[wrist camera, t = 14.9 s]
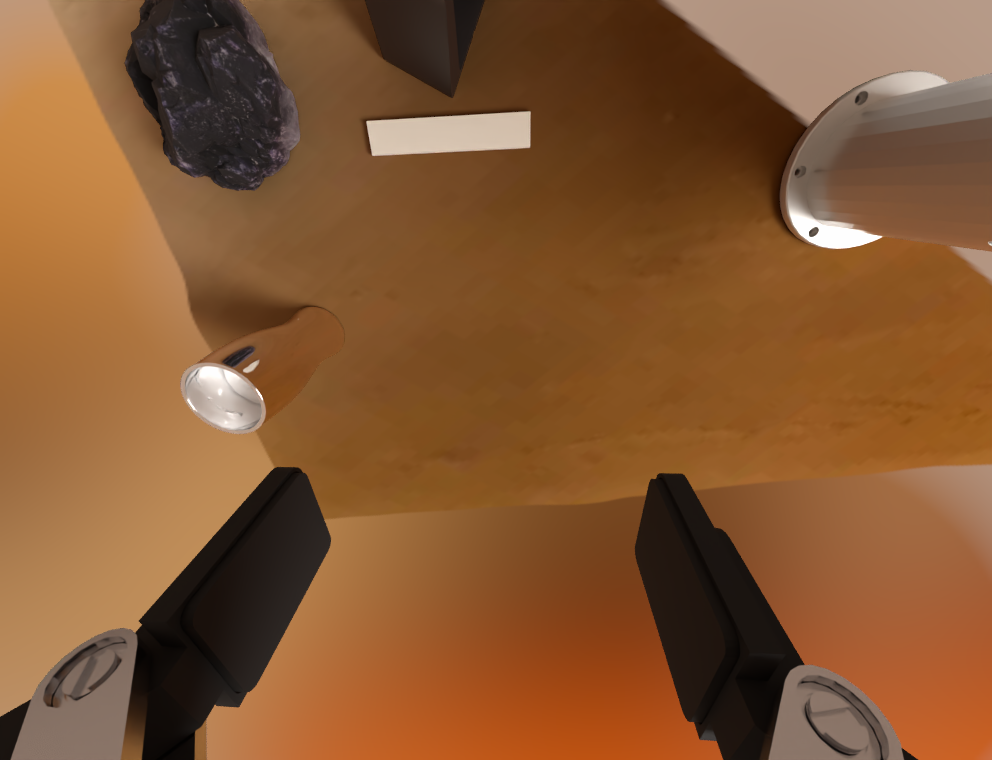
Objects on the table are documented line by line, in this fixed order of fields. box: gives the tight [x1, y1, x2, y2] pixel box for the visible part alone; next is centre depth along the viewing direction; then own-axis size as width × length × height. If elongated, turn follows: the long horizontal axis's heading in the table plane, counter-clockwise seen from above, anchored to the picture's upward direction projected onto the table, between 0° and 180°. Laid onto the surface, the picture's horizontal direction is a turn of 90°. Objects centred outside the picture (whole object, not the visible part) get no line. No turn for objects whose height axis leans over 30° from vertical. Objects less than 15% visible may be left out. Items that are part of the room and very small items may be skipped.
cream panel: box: [366, 111, 530, 156], centre depth 31 cm, size 14×2×1 cm, turn 92°
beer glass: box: [180, 307, 345, 434], centre depth 34 cm, size 7×7×15 cm
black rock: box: [125, 0, 300, 191], centre depth 27 cm, size 13×14×10 cm
